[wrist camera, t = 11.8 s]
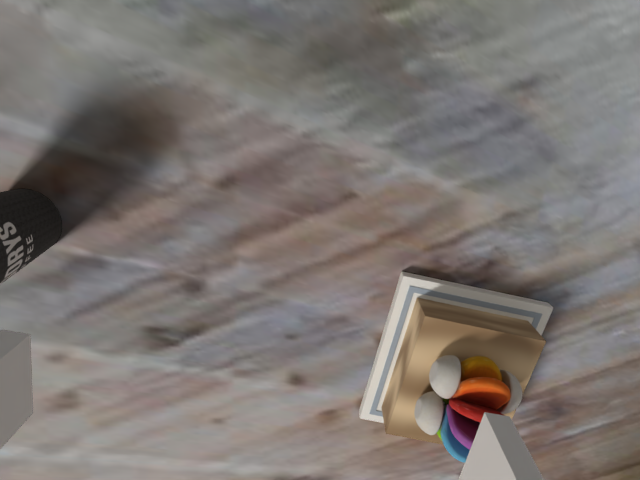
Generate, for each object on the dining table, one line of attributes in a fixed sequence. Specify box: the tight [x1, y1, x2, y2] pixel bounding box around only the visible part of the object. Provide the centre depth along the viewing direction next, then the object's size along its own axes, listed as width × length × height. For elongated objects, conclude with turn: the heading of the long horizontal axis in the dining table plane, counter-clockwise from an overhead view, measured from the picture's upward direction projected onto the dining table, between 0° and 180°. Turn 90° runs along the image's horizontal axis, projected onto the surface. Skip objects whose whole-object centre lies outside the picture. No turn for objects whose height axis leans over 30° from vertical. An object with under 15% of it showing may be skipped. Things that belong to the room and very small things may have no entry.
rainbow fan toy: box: [414, 355, 522, 463], centre depth 41 cm, size 8×10×7 cm
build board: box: [359, 272, 553, 423], centre depth 48 cm, size 18×16×1 cm
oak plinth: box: [381, 298, 546, 445], centre depth 46 cm, size 14×12×4 cm
